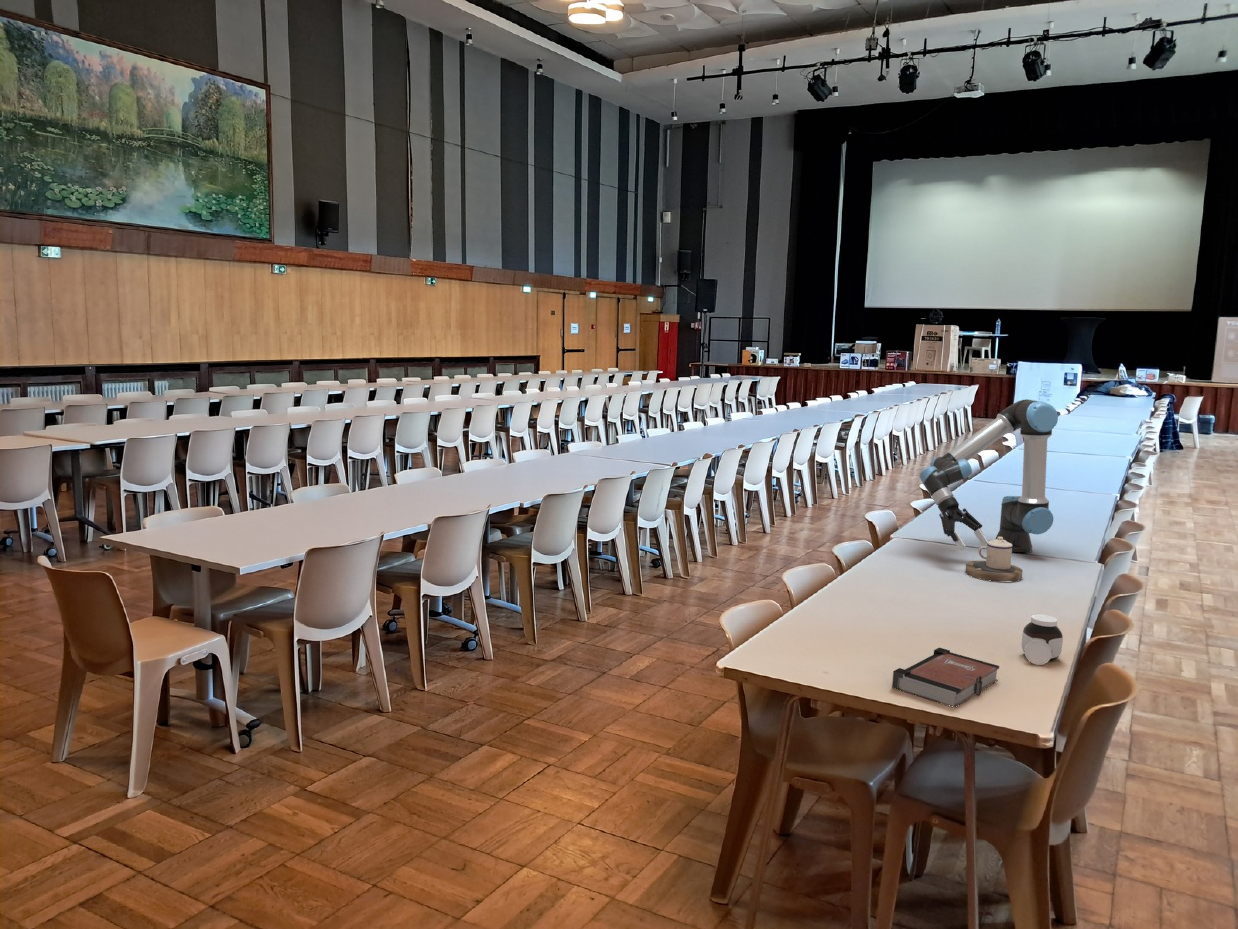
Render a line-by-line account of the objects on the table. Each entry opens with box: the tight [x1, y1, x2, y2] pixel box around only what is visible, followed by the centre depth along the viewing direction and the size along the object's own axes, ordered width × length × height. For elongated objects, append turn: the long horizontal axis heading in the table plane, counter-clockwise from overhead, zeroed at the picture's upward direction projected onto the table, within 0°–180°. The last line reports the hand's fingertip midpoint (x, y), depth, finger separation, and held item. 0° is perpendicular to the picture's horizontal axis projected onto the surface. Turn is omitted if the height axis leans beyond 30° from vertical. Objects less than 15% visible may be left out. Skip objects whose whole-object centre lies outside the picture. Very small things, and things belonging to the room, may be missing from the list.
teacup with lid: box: [977, 537, 1013, 570], centre depth 343 cm, size 12×9×12 cm
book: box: [891, 647, 1000, 708], centre depth 236 cm, size 26×18×5 cm
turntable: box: [964, 560, 1024, 582], centre depth 344 cm, size 20×20×3 cm
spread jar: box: [1021, 613, 1064, 666], centre depth 255 cm, size 12×11×12 cm
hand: (974, 546), depth 351 cm, fingers open, 13 cm apart
